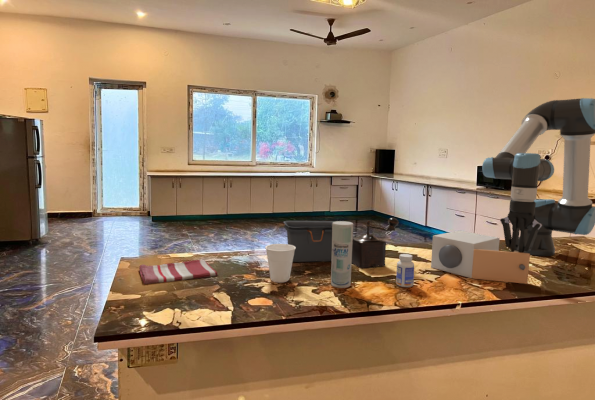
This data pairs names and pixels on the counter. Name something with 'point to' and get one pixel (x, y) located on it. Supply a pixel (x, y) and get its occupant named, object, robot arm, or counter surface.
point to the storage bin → (310, 240)
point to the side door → (500, 266)
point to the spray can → (341, 254)
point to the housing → (459, 250)
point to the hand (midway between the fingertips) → (516, 269)
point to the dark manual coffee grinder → (371, 247)
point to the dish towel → (176, 271)
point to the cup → (280, 261)
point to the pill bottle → (405, 271)
